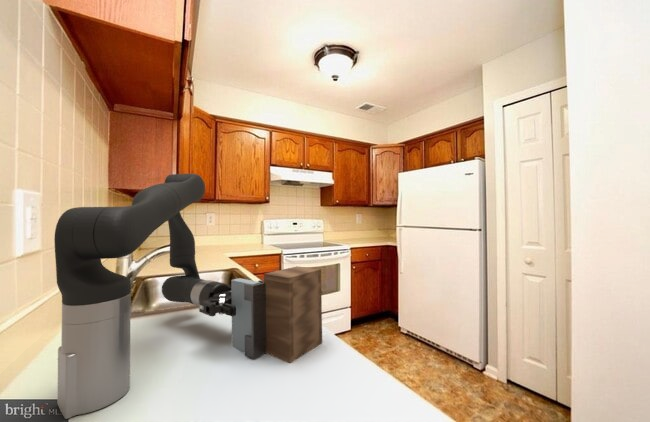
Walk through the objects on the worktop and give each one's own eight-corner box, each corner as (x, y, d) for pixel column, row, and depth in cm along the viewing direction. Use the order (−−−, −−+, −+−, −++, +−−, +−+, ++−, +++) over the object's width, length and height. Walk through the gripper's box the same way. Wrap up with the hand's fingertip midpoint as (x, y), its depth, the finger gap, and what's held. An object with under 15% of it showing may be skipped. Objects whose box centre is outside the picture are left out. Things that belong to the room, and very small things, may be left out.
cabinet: (289, 363, 57) (288, 277, 57) (264, 352, 62) (263, 273, 62) (322, 342, 66) (321, 269, 67) (298, 334, 71) (297, 266, 71)
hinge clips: (253, 360, 58) (253, 286, 59) (244, 355, 60) (244, 284, 61) (269, 351, 62) (268, 281, 63) (260, 347, 64) (260, 280, 64)
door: (253, 356, 60) (252, 284, 61) (232, 346, 65) (231, 280, 65) (261, 351, 62) (260, 282, 62) (240, 342, 67) (239, 278, 67)
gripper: (184, 287, 67) (222, 297, 57) (234, 276, 79) (272, 284, 69) (184, 317, 67) (222, 333, 57) (234, 302, 78) (272, 313, 69)
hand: (249, 306), depth 63 cm, fingers open, 8 cm apart
